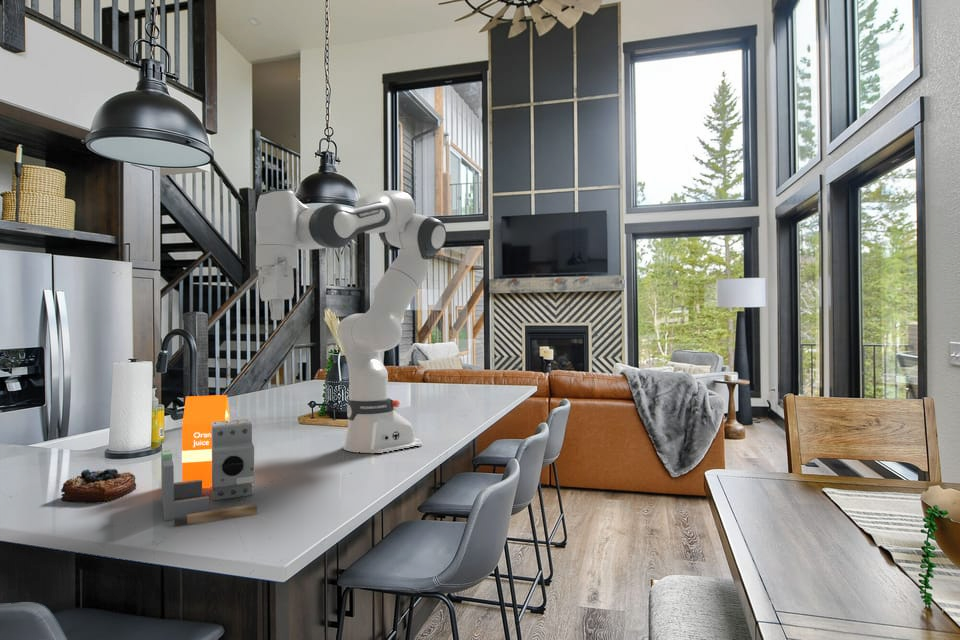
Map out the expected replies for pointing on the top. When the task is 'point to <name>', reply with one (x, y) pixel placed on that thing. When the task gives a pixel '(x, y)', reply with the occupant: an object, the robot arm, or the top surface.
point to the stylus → (216, 515)
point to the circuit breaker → (232, 459)
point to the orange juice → (200, 435)
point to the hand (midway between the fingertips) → (276, 320)
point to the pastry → (98, 486)
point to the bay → (179, 492)
